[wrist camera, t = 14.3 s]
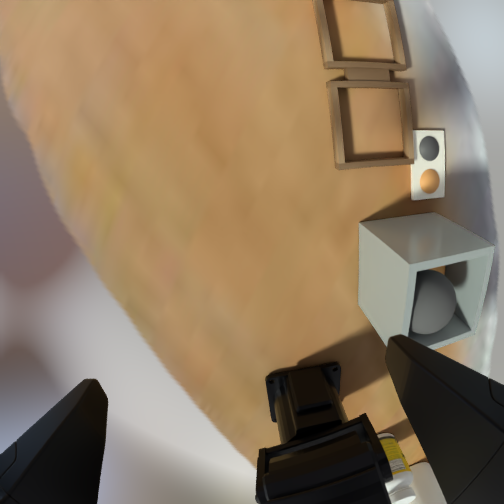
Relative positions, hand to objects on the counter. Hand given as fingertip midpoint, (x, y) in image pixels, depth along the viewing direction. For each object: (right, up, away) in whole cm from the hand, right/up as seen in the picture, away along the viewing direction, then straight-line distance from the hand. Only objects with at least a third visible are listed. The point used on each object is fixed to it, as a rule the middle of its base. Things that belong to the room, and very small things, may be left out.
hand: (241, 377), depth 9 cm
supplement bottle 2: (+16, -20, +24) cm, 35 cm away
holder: (+8, +15, +9) cm, 19 cm away
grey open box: (+11, +3, +14) cm, 18 cm away
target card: (+13, +10, +11) cm, 20 cm away
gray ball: (+13, +1, +10) cm, 16 cm away
